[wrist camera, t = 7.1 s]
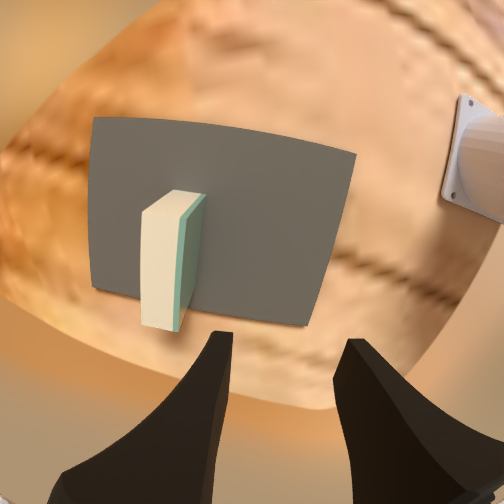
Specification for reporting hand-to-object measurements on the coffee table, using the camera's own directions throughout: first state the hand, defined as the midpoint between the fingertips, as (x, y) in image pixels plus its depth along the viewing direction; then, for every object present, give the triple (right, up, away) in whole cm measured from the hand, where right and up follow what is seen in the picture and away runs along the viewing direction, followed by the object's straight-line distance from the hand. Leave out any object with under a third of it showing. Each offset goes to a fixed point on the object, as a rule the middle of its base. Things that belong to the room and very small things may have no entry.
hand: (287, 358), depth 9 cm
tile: (-5, +4, +8) cm, 11 cm away
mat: (-4, +5, +8) cm, 10 cm away
